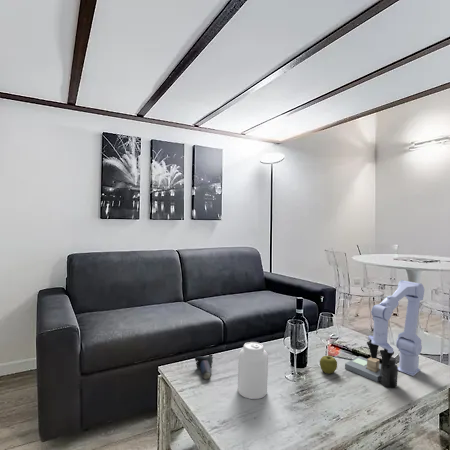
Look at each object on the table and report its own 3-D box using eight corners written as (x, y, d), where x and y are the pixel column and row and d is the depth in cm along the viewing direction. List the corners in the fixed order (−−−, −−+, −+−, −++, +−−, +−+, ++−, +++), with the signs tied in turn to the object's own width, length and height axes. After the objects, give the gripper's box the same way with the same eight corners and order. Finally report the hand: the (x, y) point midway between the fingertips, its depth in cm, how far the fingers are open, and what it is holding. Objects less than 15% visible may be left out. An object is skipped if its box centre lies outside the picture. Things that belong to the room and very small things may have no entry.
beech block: (370, 370, 156) (371, 356, 156) (378, 374, 153) (379, 359, 153) (366, 373, 154) (367, 359, 154) (374, 376, 151) (375, 362, 151)
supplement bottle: (399, 389, 140) (400, 362, 140) (382, 387, 141) (383, 360, 141) (394, 381, 147) (395, 355, 146) (378, 379, 148) (379, 354, 148)
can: (269, 386, 140) (271, 341, 139) (263, 402, 128) (265, 353, 127) (242, 381, 144) (243, 337, 143) (233, 396, 132) (235, 348, 131)
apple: (339, 376, 150) (339, 361, 150) (321, 375, 150) (322, 360, 150) (333, 368, 158) (334, 354, 158) (317, 368, 158) (318, 353, 158)
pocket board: (359, 360, 167) (359, 355, 167) (390, 372, 155) (391, 367, 155) (344, 368, 158) (345, 363, 158) (377, 382, 146) (377, 376, 146)
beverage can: (196, 370, 155) (200, 385, 144) (194, 356, 154) (197, 369, 143) (214, 365, 157) (220, 379, 146) (212, 351, 156) (217, 363, 145)
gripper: (362, 326, 150) (361, 355, 150) (383, 338, 136) (382, 370, 136) (376, 325, 151) (375, 354, 152) (398, 337, 137) (396, 369, 138)
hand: (379, 361), depth 144 cm, fingers open, 7 cm apart
